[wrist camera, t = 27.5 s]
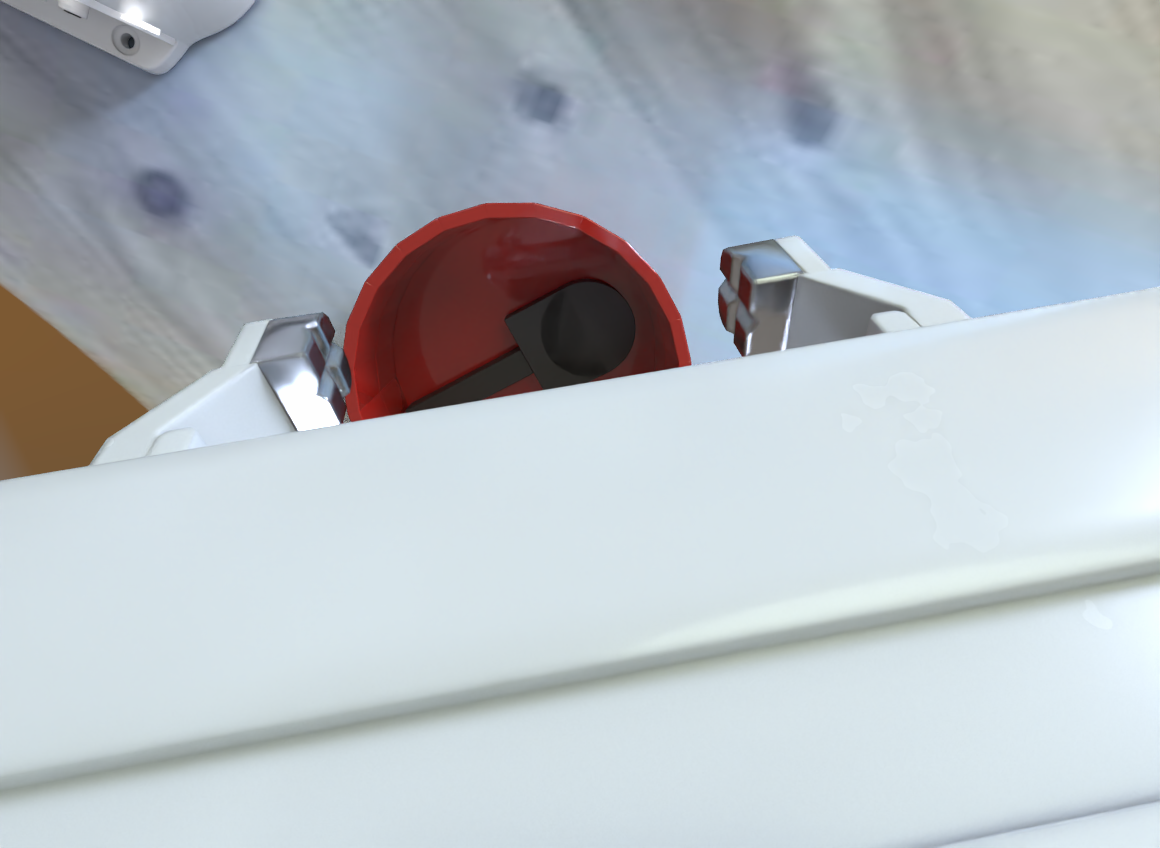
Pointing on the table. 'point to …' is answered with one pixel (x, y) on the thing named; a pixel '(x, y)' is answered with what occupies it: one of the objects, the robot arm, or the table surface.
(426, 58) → the table surface
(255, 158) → the table surface
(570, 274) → the pot
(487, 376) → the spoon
